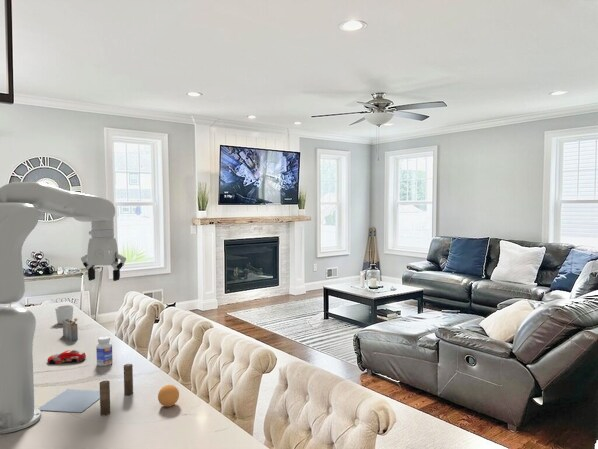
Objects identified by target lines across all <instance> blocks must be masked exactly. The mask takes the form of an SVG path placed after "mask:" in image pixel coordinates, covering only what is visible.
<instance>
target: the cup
mask: <svg viewBox="0 0 598 449" xmlns="http://www.w3.org/2000/svg"><path fill="white" fill-rule="evenodd" d="M54 311H55V315H56V316H55V317H56V323H58V324H60V325H63V320H65V319H69V323H70V320H72V321H73V317H74V316H73V314H74V305H70V304H69V305H60V306H56V307H55V310H54Z"/></svg>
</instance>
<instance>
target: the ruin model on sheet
mask: <svg viewBox="0 0 598 449" xmlns="http://www.w3.org/2000/svg"><path fill="white" fill-rule="evenodd" d="M77 321H78V317H75V318H74V319H72V320H70V323H69V319H65V320H63V324H62V336H63V337H65V338H66V339H68V340H69V341H70V342H75V341H78V340H79V339H78V338H79V332H78V330H79V329H78V323H76V322H77Z"/></svg>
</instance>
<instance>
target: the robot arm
mask: <svg viewBox="0 0 598 449" xmlns="http://www.w3.org/2000/svg"><path fill="white" fill-rule="evenodd" d="M39 212H40V213H44V214H49V215H53V216H57V217H62V218H73V219H75V221H78V222H84V223H85V222H87V223H88V222H90V225H91V229H90V230H91V231H88V234H89V235H90V236H91V237H90V238H89V240H88V243H87V244H88V245H87V251H86V252H87V254H85V255H84V256H82V257H80V261H81V263H82V265H83V267H85V269H86V270H87V278H88V281H95V280H96V269H95V266H111V267H112V268H113V270H112V281H113V282H116V281H119V280H120V278H121V270H122V268H123V267H124V265H125V263H126V261H127V257H125V256H124V255H122V254H120V253H119V249H118V244H117V238H116V237H115V236H114V235H115V229H114V228H115V226H114V218H115V216H116V207H115V205H114V203H113V202H112V201H111V200H109V199H107V198H103V197H100V196H96V195H92V194H91V195H90V194H85V193H81V192H77V191H70V190H65V189H63V188H60V187H57V186H53V185H50V184H48V183H44V182H40V181H13V182H12V181H11V182H9V183H7V184H4V185H2V186H1V187H0V305H10V304H15V303H17V302H19V301H21V300H22V299H23V297H24V295H25V292H26V287H25V286H26V284H25V275H24V266H23V260H22V259H23V256H22V251H23V245H24V243H25V241H26V240H27V239H28V236H29V235H30V234H31V232H32V231H33V230H34V229H35V228H36V226H37V225H38V222H39V218H40V217H39V216H40V213H39ZM119 260H120V261H119ZM36 326H37V319H36V316H35V314H34V313H33V312H32V311H31V310H29V309H26V308H23V307H17V306H0V434H9V433H15V432H18V431H20V430H24V429H26V428H29V427H31V426H33V425H35V424H36V423H37V422H38V421H40V419H41V418H42V411H40V410H39V409H38V408H36V407H35V389H34V386H35V383H34V358H33V356H34V355H33V347H34V344H33V343H34V339H35V333H36Z"/></svg>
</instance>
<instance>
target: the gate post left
mask: <svg viewBox="0 0 598 449" xmlns="http://www.w3.org/2000/svg"><path fill="white" fill-rule="evenodd" d="M110 389H111V386H110V380H103V381H100V382H99V391H100V399H99V407H100V409H99V410H100V416H101V417H102V416H103V415H105V416H108V415H110V414H111V394H110V393H111V390H110Z"/></svg>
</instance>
